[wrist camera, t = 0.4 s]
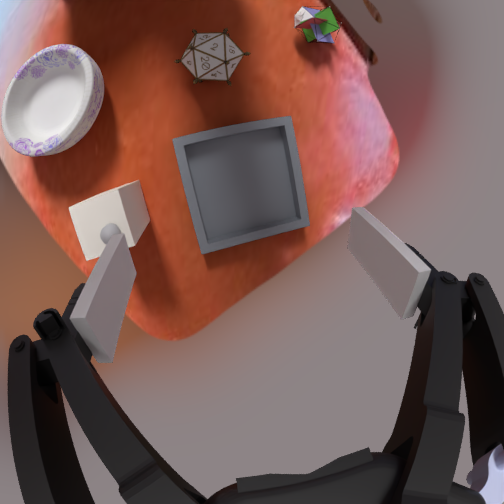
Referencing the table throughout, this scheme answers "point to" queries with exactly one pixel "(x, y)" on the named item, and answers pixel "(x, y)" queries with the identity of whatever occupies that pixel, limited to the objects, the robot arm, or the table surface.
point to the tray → (242, 182)
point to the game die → (212, 56)
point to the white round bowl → (52, 101)
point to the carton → (110, 218)
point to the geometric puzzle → (317, 23)
